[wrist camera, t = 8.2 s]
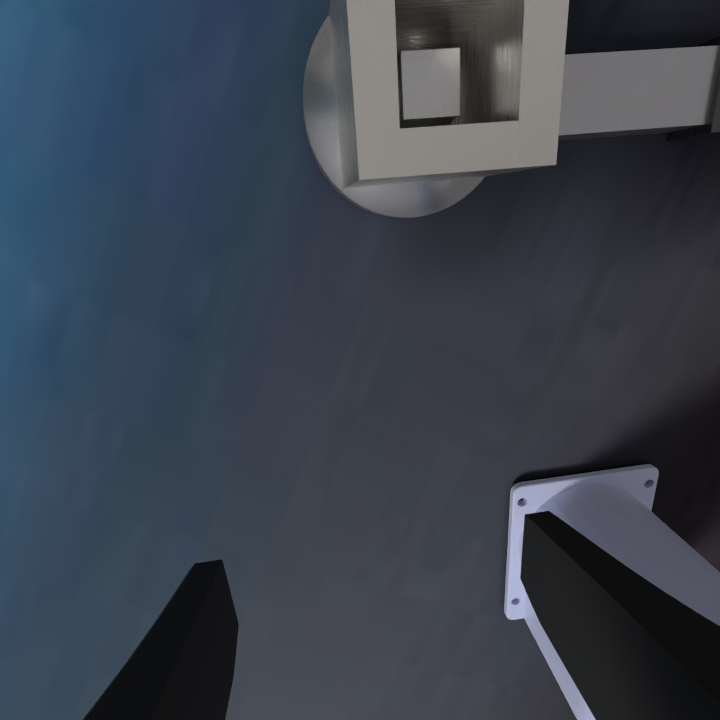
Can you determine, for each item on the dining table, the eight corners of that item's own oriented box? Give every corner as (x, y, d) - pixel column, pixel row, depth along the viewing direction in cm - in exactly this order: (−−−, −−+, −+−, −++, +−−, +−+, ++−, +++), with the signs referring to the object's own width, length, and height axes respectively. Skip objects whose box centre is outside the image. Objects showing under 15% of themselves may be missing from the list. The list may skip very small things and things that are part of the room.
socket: (478, 177, 15) (556, 165, 10) (343, 188, 14) (359, 179, 10) (481, 10, 13) (576, -97, 8) (328, 18, 13) (340, -91, 8)
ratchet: (788, 182, 18) (931, 174, 14) (315, 223, 17) (317, 229, 12) (839, -20, 16) (1030, -102, 12) (291, 6, 14) (283, -78, 10)
